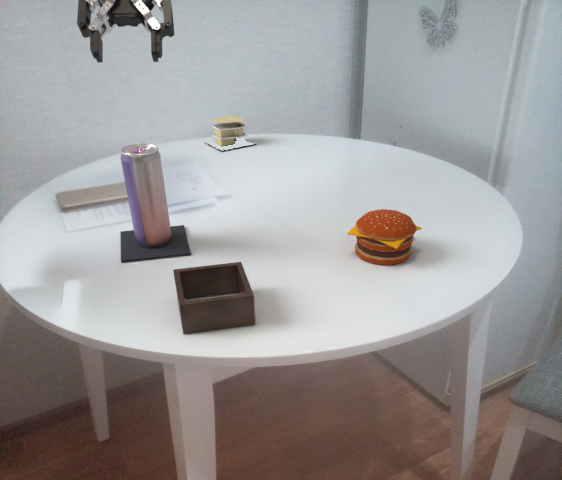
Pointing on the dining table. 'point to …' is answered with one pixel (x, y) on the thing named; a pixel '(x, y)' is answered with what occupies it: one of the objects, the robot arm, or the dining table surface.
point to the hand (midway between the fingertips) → (126, 58)
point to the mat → (171, 249)
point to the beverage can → (146, 194)
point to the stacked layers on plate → (228, 130)
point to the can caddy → (216, 309)
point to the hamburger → (384, 236)
